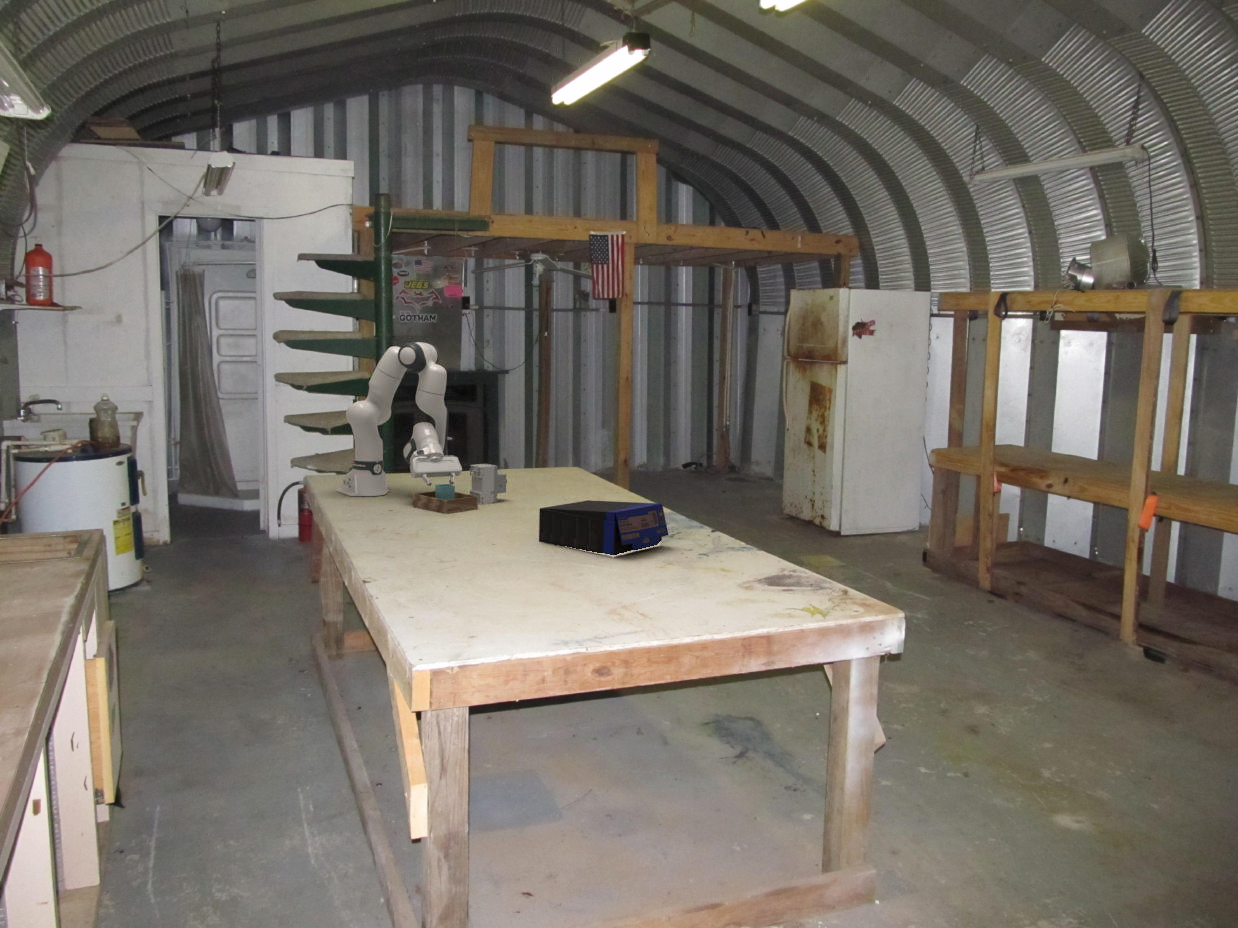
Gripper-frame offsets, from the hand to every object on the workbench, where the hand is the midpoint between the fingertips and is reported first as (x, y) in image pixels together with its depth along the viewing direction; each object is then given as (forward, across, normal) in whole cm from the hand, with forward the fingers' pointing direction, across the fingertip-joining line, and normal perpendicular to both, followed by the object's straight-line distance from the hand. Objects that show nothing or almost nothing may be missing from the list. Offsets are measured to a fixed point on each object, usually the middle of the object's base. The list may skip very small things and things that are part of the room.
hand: (441, 484), depth 365 cm
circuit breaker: (+4, -22, -8) cm, 24 cm away
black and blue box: (+67, -22, +56) cm, 89 cm away
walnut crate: (+9, 0, -3) cm, 10 cm away
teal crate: (+9, 0, -2) cm, 9 cm away
